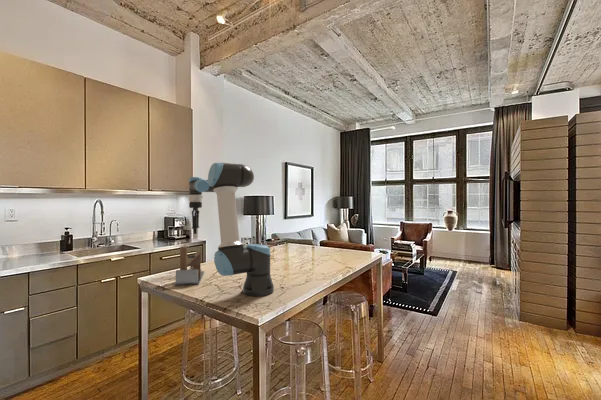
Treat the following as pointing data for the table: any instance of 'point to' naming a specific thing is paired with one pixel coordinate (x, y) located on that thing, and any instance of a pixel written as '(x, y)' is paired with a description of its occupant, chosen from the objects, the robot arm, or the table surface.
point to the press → (188, 277)
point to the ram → (191, 259)
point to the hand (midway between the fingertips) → (195, 238)
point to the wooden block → (194, 262)
